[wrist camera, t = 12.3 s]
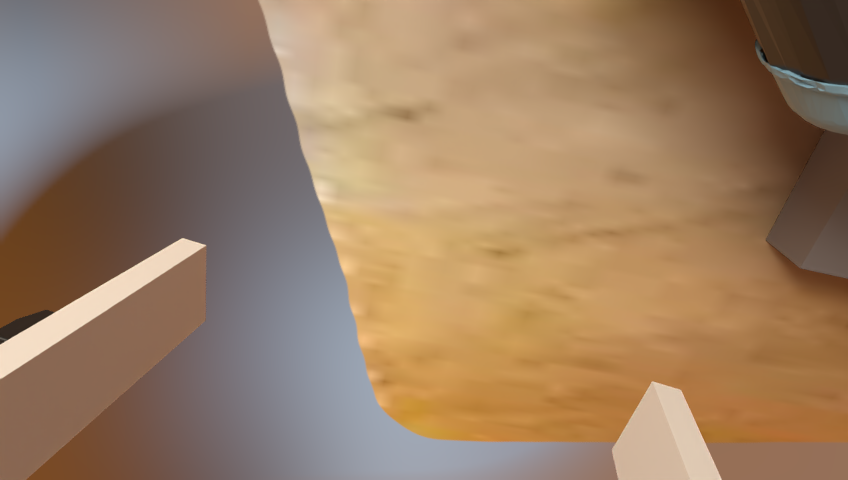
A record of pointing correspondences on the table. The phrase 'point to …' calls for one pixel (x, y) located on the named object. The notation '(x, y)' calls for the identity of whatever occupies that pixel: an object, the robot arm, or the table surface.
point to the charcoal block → (818, 211)
